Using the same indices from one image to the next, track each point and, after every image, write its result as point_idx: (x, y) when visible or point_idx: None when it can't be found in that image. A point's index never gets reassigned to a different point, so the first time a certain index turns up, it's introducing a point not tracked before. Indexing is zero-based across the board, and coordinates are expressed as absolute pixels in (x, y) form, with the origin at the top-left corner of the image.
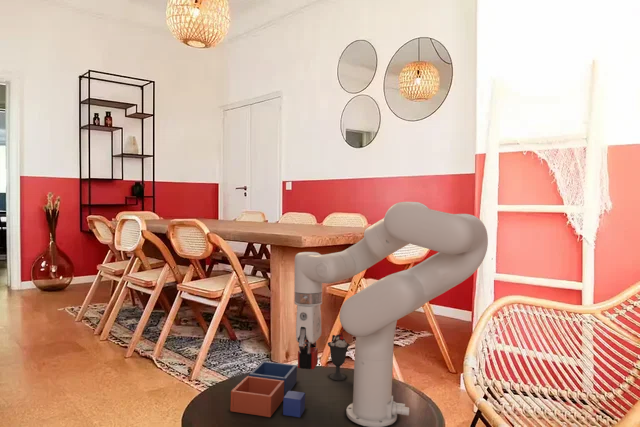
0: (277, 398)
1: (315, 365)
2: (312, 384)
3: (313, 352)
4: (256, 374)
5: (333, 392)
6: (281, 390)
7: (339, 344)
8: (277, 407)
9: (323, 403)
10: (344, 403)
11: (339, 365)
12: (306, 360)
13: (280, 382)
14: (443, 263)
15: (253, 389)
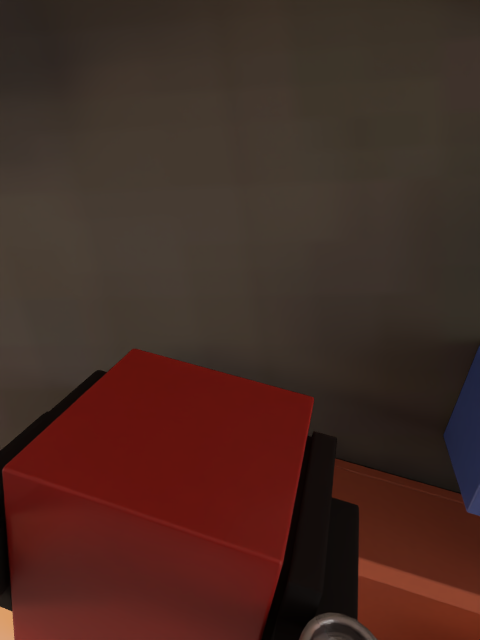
0: (469, 537)
1: (225, 381)
2: (87, 295)
3: (254, 562)
4: None
5: (178, 146)
6: (387, 528)
7: None
8: (450, 492)
9: (372, 214)
10: (363, 41)
11: None
12: (354, 569)
13: (363, 573)
14: None
15: None
